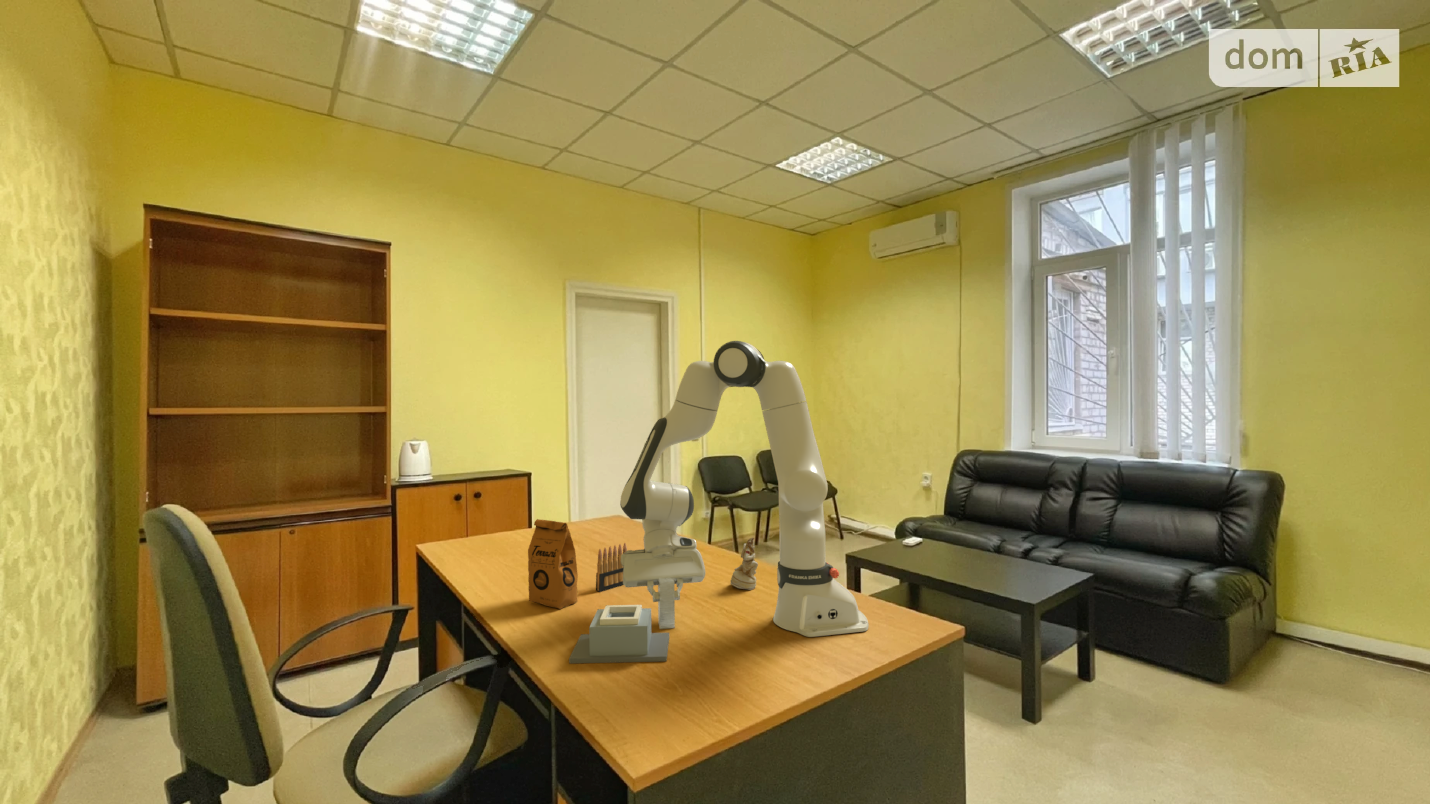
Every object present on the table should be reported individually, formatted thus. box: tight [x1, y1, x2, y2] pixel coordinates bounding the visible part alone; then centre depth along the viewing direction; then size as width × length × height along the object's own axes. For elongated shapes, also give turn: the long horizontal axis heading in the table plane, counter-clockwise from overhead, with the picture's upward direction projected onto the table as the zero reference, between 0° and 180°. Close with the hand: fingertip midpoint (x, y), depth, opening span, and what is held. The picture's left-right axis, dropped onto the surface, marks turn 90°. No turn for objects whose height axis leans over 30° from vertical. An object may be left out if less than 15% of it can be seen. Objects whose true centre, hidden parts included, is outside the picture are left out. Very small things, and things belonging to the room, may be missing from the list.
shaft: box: [657, 577, 676, 630], centre depth 136 cm, size 4×4×11 cm
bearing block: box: [568, 607, 670, 664], centre depth 123 cm, size 20×12×7 cm, turn 92°
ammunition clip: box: [595, 542, 628, 593], centre depth 164 cm, size 11×2×12 cm, turn 137°
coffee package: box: [527, 518, 579, 610], centre depth 152 cm, size 10×12×22 cm
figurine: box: [730, 537, 759, 591], centre depth 164 cm, size 7×7×15 cm
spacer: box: [600, 604, 643, 625], centre depth 123 cm, size 8×8×1 cm
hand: (666, 600), depth 135 cm, fingers closed on shaft, 3 cm apart
